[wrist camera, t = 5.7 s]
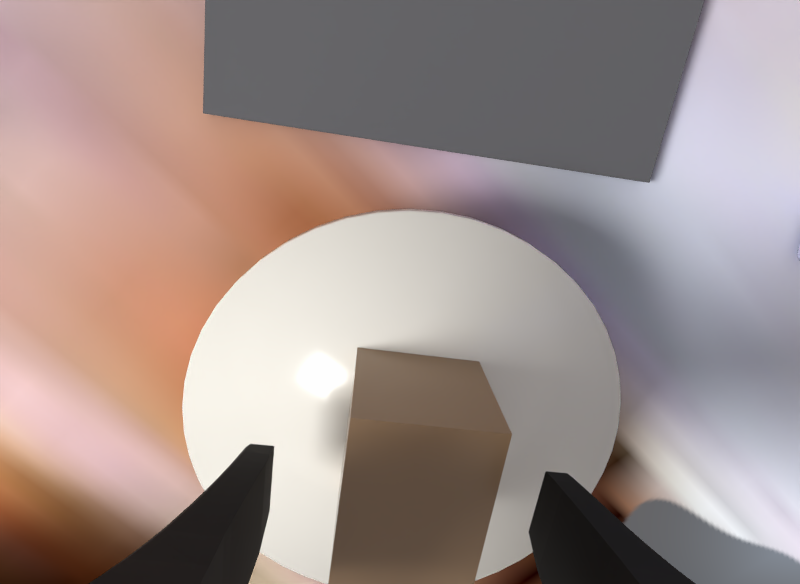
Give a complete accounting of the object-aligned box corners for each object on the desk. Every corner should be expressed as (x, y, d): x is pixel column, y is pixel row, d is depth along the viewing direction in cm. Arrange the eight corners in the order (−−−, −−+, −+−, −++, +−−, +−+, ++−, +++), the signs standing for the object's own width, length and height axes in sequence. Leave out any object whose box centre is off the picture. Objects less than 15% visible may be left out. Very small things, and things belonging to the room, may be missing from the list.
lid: (667, 243, 13) (787, 286, 9) (554, 590, 17) (606, 723, 13) (193, 175, 12) (105, 193, 8) (188, 563, 16) (127, 700, 12)
